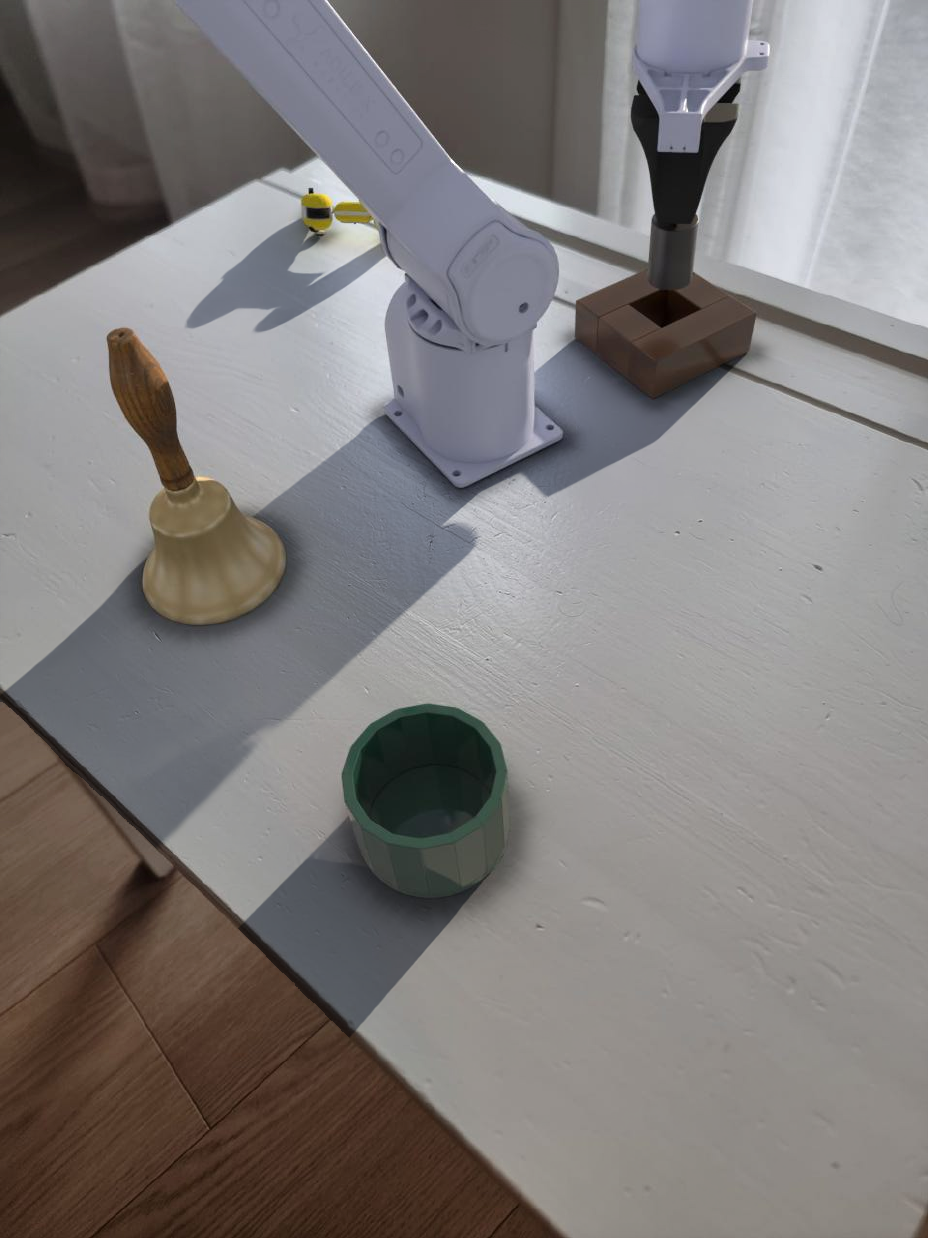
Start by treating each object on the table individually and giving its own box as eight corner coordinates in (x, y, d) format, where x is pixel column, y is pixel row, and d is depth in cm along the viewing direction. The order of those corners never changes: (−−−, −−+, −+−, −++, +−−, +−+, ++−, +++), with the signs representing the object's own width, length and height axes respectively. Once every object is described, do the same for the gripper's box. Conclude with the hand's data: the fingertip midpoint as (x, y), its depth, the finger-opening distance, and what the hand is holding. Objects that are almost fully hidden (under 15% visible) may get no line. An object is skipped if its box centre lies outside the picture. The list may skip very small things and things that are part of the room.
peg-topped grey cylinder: (637, 276, 63) (646, 143, 57) (672, 260, 64) (684, 127, 58) (667, 295, 62) (679, 161, 55) (701, 279, 63) (717, 145, 56)
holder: (574, 337, 69) (575, 300, 67) (667, 294, 72) (672, 256, 69) (652, 399, 65) (656, 361, 62) (749, 351, 67) (757, 312, 65)
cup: (332, 809, 47) (313, 755, 43) (456, 737, 49) (449, 678, 45) (408, 928, 43) (394, 880, 39) (539, 844, 45) (538, 790, 42)
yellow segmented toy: (288, 241, 78) (284, 193, 76) (313, 229, 83) (310, 184, 81) (412, 246, 76) (411, 196, 74) (429, 233, 82) (429, 187, 80)
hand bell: (139, 637, 55) (21, 406, 42) (146, 530, 60) (43, 296, 47) (290, 613, 55) (216, 377, 43) (283, 509, 60) (217, 272, 48)
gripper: (782, 13, 44) (739, 285, 54) (786, -101, 53) (748, 153, 63) (621, 13, 45) (610, 279, 56) (650, -98, 54) (636, 150, 64)
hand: (675, 212), depth 60 cm, fingers closed on peg-topped grey cylinder
